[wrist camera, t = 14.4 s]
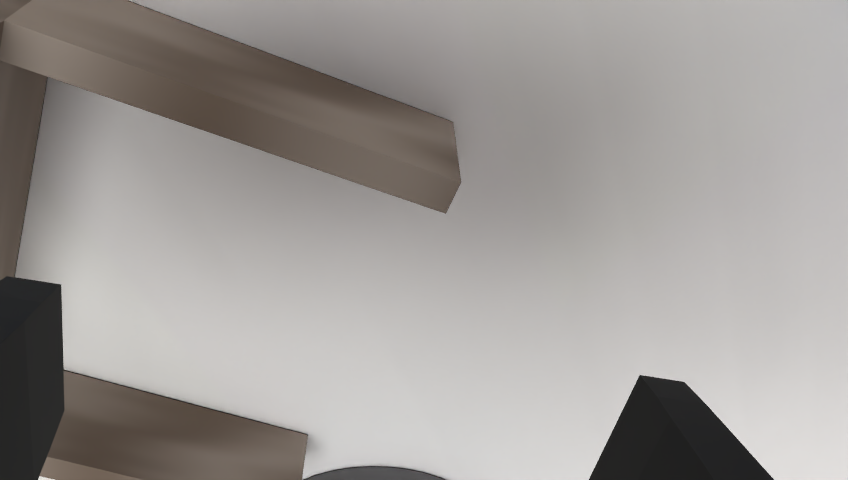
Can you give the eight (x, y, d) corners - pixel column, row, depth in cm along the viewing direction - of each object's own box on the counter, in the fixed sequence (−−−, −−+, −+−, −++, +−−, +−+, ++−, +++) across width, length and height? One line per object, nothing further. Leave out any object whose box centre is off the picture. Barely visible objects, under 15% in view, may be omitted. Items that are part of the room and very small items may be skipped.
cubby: (453, 122, 19) (471, 264, 14) (299, 452, 25) (273, 637, 20) (14, -42, 17) (-155, 57, 12) (-39, 364, 22) (-167, 547, 17)
